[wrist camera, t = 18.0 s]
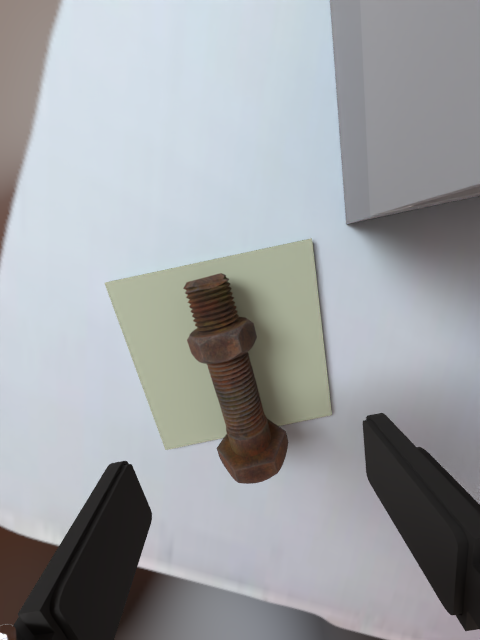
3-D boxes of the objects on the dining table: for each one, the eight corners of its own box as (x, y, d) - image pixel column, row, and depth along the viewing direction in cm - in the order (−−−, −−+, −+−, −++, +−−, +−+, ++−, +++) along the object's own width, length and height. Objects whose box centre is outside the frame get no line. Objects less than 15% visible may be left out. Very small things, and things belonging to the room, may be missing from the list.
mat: (309, 239, 18) (311, 238, 17) (329, 410, 22) (331, 415, 21) (108, 281, 18) (104, 282, 17) (167, 445, 22) (165, 450, 22)
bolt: (218, 273, 19) (258, 422, 23) (158, 289, 17) (214, 453, 20) (258, 263, 14) (302, 456, 18) (183, 284, 12) (250, 502, 15)
